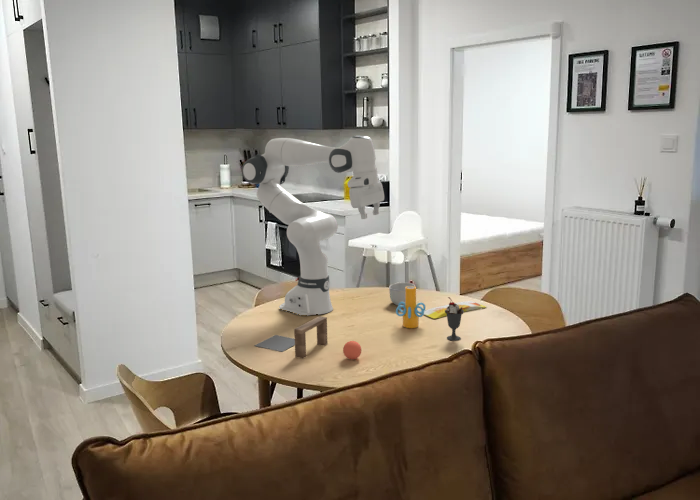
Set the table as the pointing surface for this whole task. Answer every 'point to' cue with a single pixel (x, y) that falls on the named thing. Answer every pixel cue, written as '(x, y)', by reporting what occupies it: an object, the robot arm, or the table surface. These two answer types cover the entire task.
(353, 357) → the ball
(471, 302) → the food package
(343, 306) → the table surface
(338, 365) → the table surface
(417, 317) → the cylinder
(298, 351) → the bridge
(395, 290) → the teacup
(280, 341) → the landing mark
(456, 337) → the sundae
